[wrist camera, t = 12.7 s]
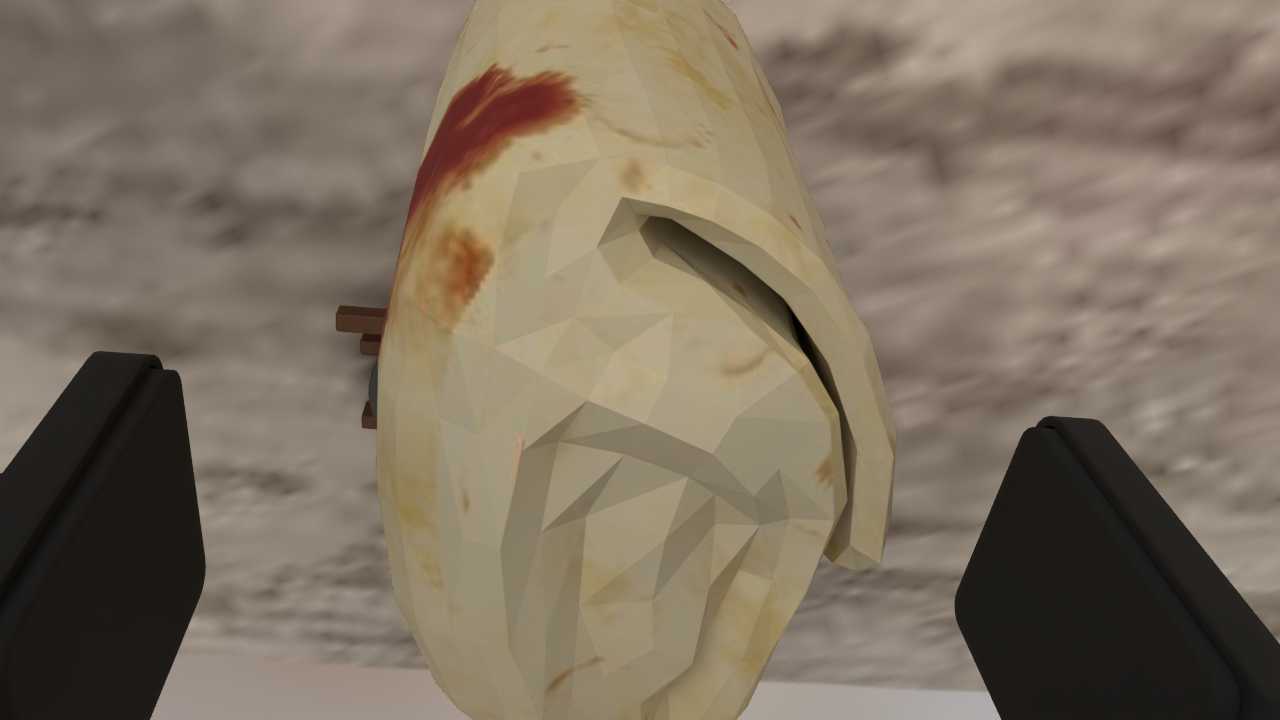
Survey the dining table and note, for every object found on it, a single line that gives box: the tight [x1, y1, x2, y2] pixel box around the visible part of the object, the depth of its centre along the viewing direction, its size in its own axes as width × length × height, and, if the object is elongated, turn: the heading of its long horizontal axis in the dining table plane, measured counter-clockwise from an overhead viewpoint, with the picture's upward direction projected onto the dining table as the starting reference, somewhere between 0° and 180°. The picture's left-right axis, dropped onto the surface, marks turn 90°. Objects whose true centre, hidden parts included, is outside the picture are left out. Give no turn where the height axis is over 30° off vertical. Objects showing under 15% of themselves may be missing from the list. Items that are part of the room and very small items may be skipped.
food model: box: [376, 0, 897, 720], centre depth 18 cm, size 10×7×20 cm
